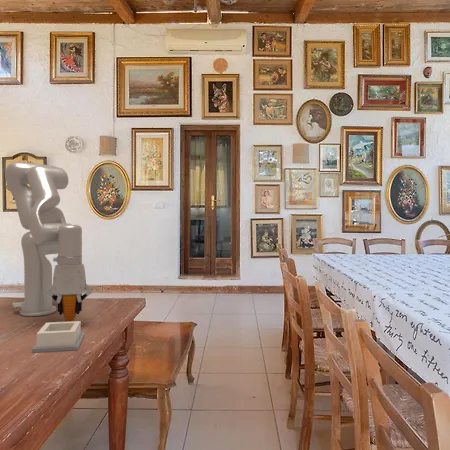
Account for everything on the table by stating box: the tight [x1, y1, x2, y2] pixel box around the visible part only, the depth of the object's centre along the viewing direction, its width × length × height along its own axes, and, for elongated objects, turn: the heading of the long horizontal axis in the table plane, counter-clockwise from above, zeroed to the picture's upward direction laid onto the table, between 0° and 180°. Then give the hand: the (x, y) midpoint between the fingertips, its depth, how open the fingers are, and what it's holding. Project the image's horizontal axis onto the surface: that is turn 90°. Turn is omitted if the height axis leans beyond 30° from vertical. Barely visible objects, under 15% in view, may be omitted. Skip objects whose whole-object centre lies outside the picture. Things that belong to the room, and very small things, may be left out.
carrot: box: [62, 295, 78, 322], centre depth 123 cm, size 5×5×15 cm
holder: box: [31, 320, 85, 354], centre depth 107 cm, size 12×12×5 cm
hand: (69, 312), depth 123 cm, fingers closed on carrot, 4 cm apart
